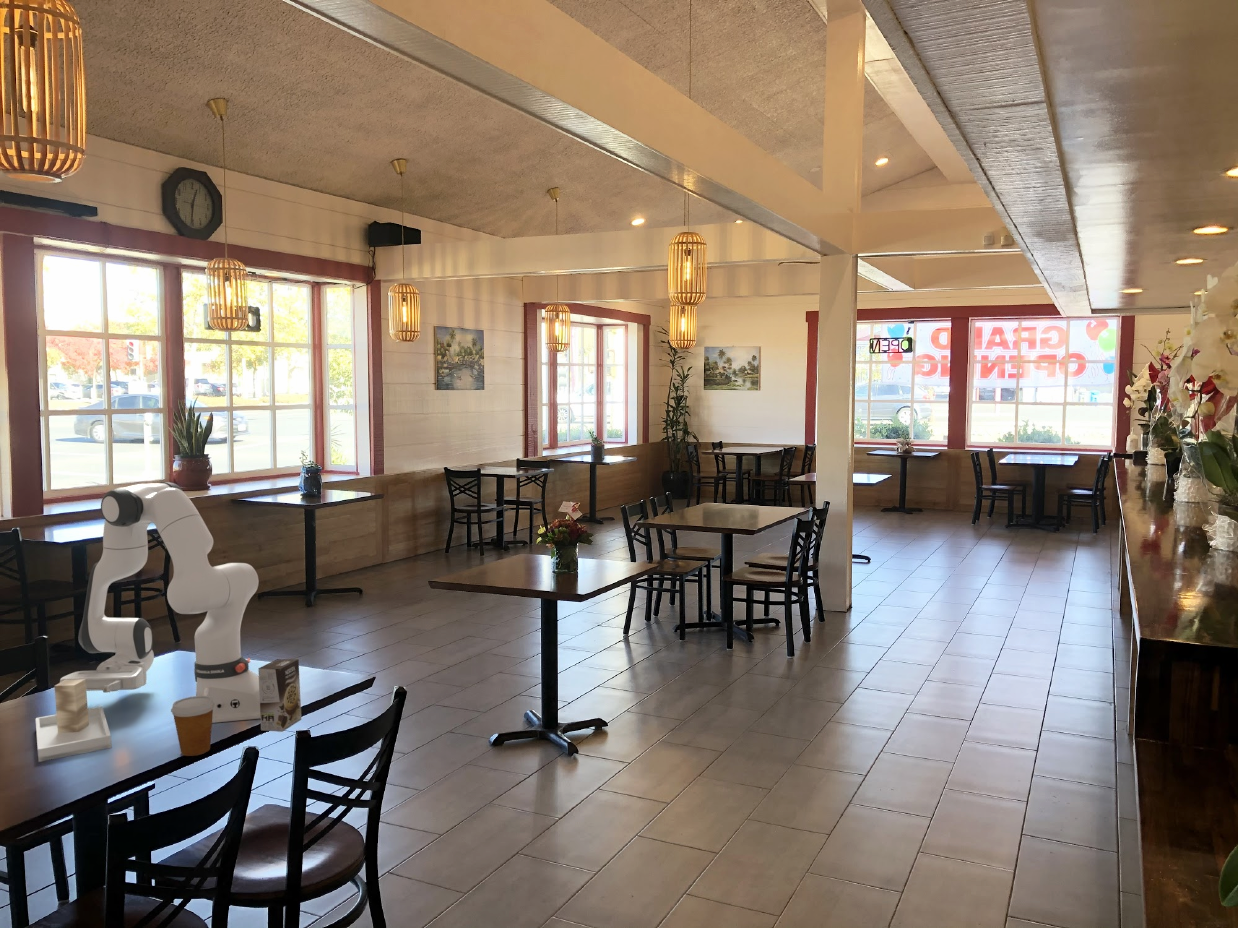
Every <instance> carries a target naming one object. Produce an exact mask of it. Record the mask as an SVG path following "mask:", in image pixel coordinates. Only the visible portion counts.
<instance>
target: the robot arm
mask: <svg viewBox="0 0 1238 928" xmlns="http://www.w3.org/2000/svg"><path fill="white" fill-rule="evenodd" d="M100 511H101V516H102V517H103V519H104V524H103V534H102V535H103V537H102V548H103V550H102V554H101V558H100V559H99V561H97V562H95V563H94V564H93V566H92V568H91V570H90V573H89V576H88V583H87V589H86V596H85V603H84V610H83V615H82V616H83V617H82V621H81V624H80V627H79V630H78V637H77V638H78V643H79V645H80V646H81V648H82V649H83V650H85V651H86V652H87V653H89V654H97V653H115V655H113V656H111V657H110V658H107V659H106V660H104V661H102V662H101V663H100V664H98V666H97V668H96V670H80V671H74V672H72V673H69V674H67V675H64V676H62V677H61V678H60V680H59V683H61V682H62V681H64V680H70V679H86V692H87V691H88V692H92V691H93V692H95V691H96V692H98V691H102V692H103V693H111V692H119V691H124V690H125V691H129V690H133V691H134V690H137V689H139V688H141V687H143V686H145V685H147V672H148V671H149V670H150V668H151V667H152V665H153V663H154V660H155V654H154V651H153V645H154V631H153V629H152V627H151V625H150V624H149V622H148V621H147V620H146V619H145V618H142V617H140V618H139V617H108V616H106V615H105V609H106V601H107V595H108V590H109V586H111V584H112V583H114V582H116V581H119V580H122V579H124V578H128V577H130V576H132V575H135V574H137V573H138V572H139V571H140V570H142V569H143V567H144V566H145V565H146V563H147V561H148V556H149V543H148V527H149V525H151V524H154V526H155V528H156V530H157V532H158V534H159V536H160V538H161V539H162V541H163V543H164V545H165V547H166V550H167V551H168V554H169V556H170V559H171V561H172V565H173V577H172V579H171V581H170V583H169V584H168V586H167V590H166V591H167V593H166V596H167V597H166V598H167V601H168V604H169V606H170V607H171V609H172V610H174V612H175V613H178V614H181V615H195V614H196V615H197V614H201V613H205V612H207V613H206V615H205V617H204V620H203V621H202V623H201V624H200V625H199V626H198V627H197V628H196V630H195V633H194V649H195V662H194V663H193V665H194V666H193V667H194V670H193V671H194V679H195V682H196V687H195V688H196V689H195V696H208V697H211V698H212V699H213V702H214V703H215V706H214V708H213V715H212V724H214V723H222V722H223V723H224V722H235V721H246V720H256V719H257V720H258V719H261V716H260V694H259V674H256V673H255V672H253V671H251V669H249V667H250V666H249V663H251V658H250V657H248V658H247V659H246V658H245V657H243V656H242V654H241V653H242V652H241V651H242V650H241V626H242V621H243V617H244V613H245V611H246V608H247V605H248V604H249V602H250V600H251V598H252V597H253V596H254V595H255V593H256V592H257V590H258V589H259V588H258V587H259V575H258V573H257V571H256V569H255V568H254V567H253V566H252V565H251V564H249V563H246V562H227V563H225V564H219V565H214V566H212V565H211V564H210V561H209V559H208V554H209V553H210V552H211V550H212V548H213V546H214V538H213V536H212V534H211V532H210V530H209V528H208V526H207V525H206V522H205V521H204V519H203V517H202V516H201V514H200V513H199V510H198V509H197V508H196V506H195V505H194V502H193V501H191V499H190V498H189V496H188V495H186V493H185V492H184V491H183V489H182V488H181V487H180V485H178V484H176V483H174V482H170V481H169V482H167V481H161V482H158V483H157V482H154V483H153V482H152V483H151V482H149V483H136V484H132V485H131V484H130V485H129V486H125V487H124V486H123V487H121V486H120V487H116V488H113V489H111V490H108V491H107V492H105V494H103V495H102V499H101V502H100Z"/></svg>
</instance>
